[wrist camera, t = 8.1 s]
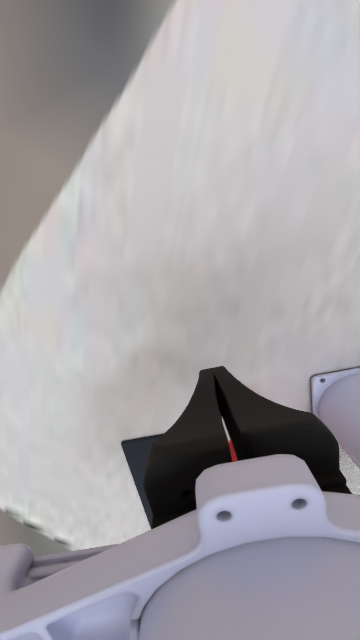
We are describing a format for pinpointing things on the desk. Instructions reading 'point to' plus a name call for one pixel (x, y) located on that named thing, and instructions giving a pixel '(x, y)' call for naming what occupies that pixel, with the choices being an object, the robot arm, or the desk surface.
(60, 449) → the desk surface
